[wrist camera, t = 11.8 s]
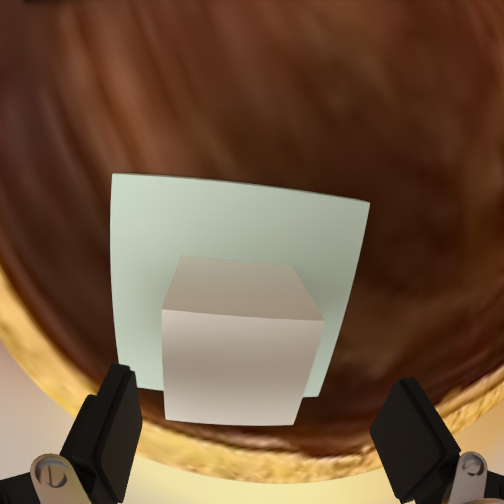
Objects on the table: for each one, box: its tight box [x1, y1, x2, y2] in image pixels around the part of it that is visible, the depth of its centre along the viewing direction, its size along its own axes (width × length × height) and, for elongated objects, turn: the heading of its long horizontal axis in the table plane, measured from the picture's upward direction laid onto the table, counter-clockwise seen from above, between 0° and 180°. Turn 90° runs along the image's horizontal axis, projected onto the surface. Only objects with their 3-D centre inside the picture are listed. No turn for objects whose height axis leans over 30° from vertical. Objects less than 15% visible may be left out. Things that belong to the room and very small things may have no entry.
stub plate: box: [110, 173, 370, 397], centre depth 16 cm, size 14×14×4 cm
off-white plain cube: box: [162, 255, 325, 425], centre depth 14 cm, size 6×6×6 cm
